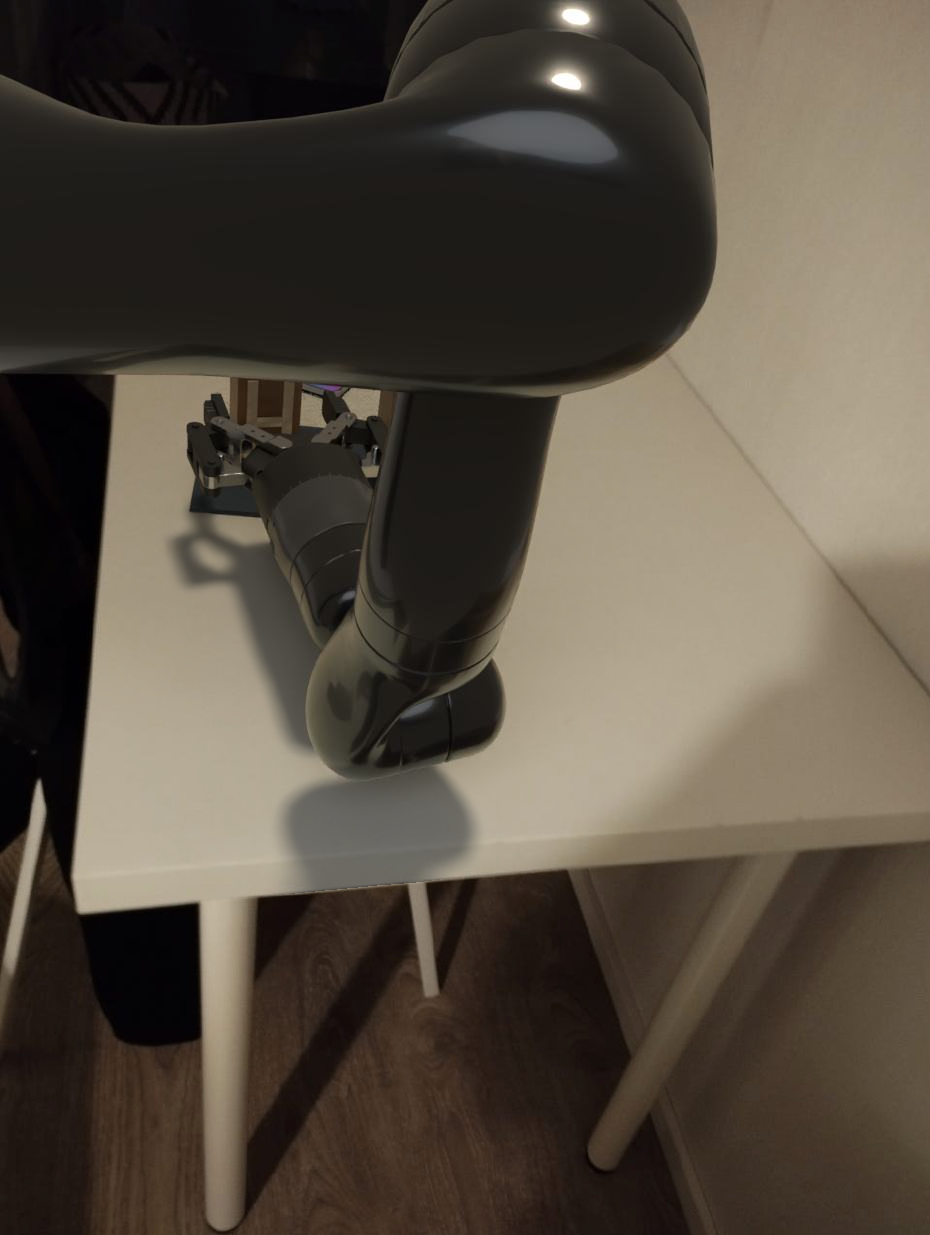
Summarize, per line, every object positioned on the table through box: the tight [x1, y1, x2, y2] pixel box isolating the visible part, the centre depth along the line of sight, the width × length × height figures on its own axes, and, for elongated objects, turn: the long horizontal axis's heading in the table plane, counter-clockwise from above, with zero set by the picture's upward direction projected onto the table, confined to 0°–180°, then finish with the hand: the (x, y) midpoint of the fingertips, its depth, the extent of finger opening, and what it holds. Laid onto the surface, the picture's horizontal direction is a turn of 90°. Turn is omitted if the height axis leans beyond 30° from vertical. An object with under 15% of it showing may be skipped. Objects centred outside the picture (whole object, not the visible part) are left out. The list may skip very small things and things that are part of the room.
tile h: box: [229, 377, 303, 450], centre depth 79 cm, size 5×3×10 cm
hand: (271, 402), depth 75 cm, fingers open, 8 cm apart
